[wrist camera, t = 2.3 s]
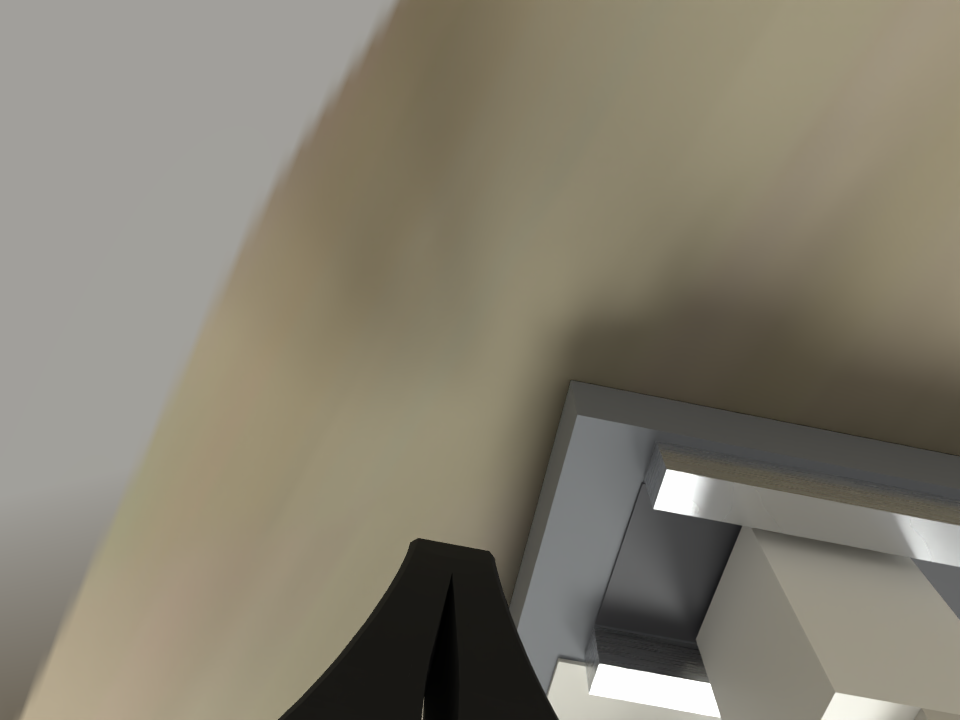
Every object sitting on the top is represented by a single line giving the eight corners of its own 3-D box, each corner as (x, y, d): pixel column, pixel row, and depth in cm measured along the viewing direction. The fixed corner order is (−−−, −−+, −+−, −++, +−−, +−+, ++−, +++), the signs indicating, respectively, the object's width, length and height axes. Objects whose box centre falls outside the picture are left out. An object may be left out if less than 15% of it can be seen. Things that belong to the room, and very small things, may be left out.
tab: (839, 665, 15) (973, 913, 10) (695, 639, 15) (771, 878, 10) (901, 546, 14) (1079, 771, 9) (745, 517, 13) (855, 730, 9)
